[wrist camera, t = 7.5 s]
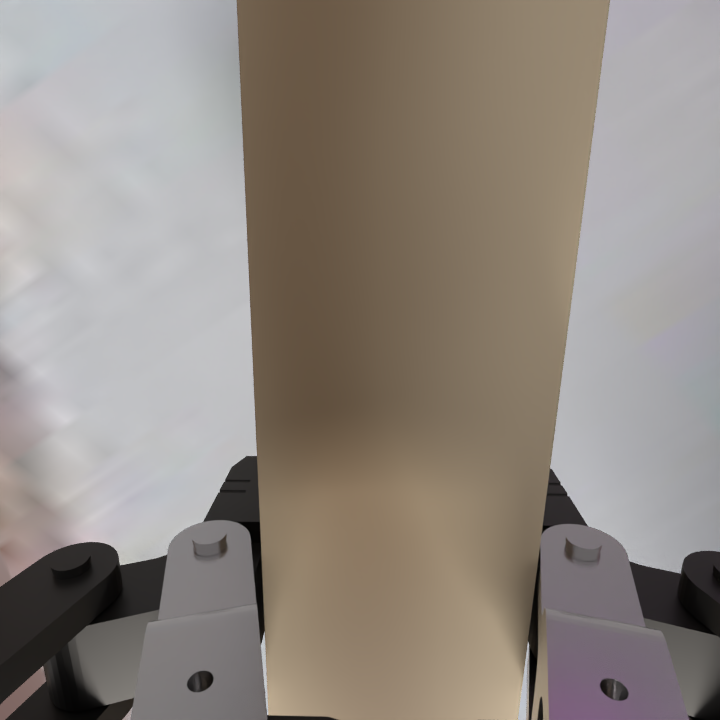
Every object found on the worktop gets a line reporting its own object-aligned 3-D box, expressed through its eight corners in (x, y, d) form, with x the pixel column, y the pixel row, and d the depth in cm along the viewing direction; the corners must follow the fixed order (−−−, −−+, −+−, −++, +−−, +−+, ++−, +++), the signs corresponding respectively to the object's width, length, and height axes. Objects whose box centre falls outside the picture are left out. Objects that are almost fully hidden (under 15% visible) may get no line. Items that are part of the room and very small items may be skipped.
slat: (513, -22, 10) (637, -217, 5) (447, 777, 16) (478, 1027, 11) (297, -24, 10) (227, -215, 5) (310, 771, 16) (281, 1017, 11)
